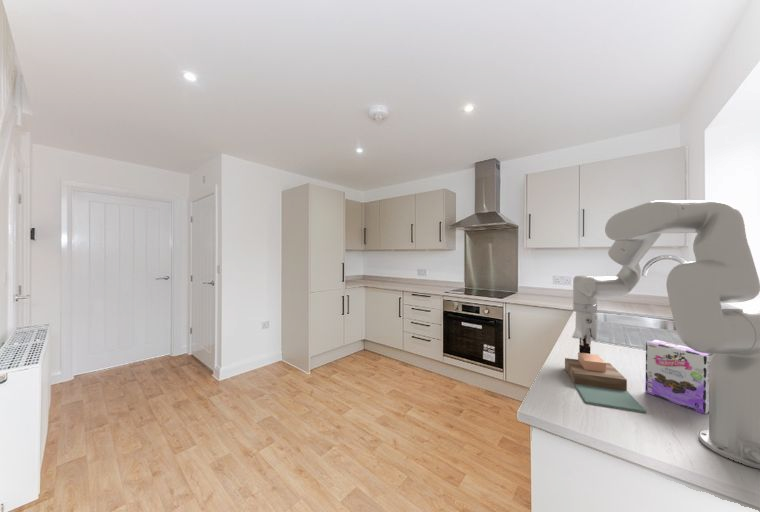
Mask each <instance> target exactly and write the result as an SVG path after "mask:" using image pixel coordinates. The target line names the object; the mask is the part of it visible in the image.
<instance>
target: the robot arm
mask: <svg viewBox="0 0 760 512" xmlns="http://www.w3.org/2000/svg"><path fill="white" fill-rule="evenodd" d="M744 221H745V220H744V218H743V214H742V213H741V212H740V210H739V209H738V208H737V207H735V206H734V205H732V204H730V203H728V202H725V201H720V200H719V201H718V200H717V201H716V200H703V199H702V200H699V199H698V200H695V199H694V200H693V199H692V200H691V199H687V200H686V199H685V200H684V199H683V200H681V199H680V200H654V201H653V200H652V201H649V202H645V203H642V204H639V205H637V206H634V207H631V208H628V209H627V208H626V209H624V210H622V211H620V212H617V213H615V214H613V215H612V216H610V218H609V219H608V220H607V221H606V224H605V227H604V233H605V235H606V237H608V239H610V240H612V241H614V242H613V243H612V245H611V246H610V248H609V249H608V251H607V254H608V257H609V258H610V259H611V260H612V261H614V262H615V263H616V264H617V265H620V266H622V267H621V269H620V270H619V271H618V273H617V274H616V275H615V276H592V275H575V276H574V277H573V279H572V282H573V284H572V285H573V286H572V289H573V290H572V295H573V296H572V300H573V301H572V305H573V306H572V307H573V308H572V310H573V312H575V333H576V335H577V336H578V339H579V341H578V342H579V345H578V346H579V348H578V351H579V352H578V353H588V354H591V344H592V341H591V340H592V339H593V340H594V341H597V339H598V330H597V318H596V314H598V299H607V298H608V299H609V298H611V299H612V298H614V299H617V298H618V299H620V298H623V297H626V296H627V295H629V294H630V293H631V292H632V291H633V290H634V289H635V287H636V286H637V284H638V283H639V282H640V278H641V274H642V273H641V272H642V269H641V265H640V262H641V260H642V259H643V258H644V256H646V254H647V253H648V252H649V250H651V248H652V247H653V245H654V244H655V243H656V241H657V240H658V239H659V238H660V237H661V236H662V234H696V235H695V237H694V240H693V244H692V250H693V254H694V257H695V260H694V261H686V262H685V261H684V262H682V263H679V264H676V265H675V266H673V268H672V269H671V270H670V271H669V273H668V274H667V278H666V290H667V291H666V292H667V296H668V301H669V306H670V310H671V314H672V315H671V316H672V318H673V319H672V320H673V323H674V327H675V330H676V333H677V335H678V338H679V339H680V340H681V342H682V343H683V344H684V346H686V347H689V348H691V349H693V350H695V351H698V352H701V353H707V354H713V356H712V358H711V362H710V368H709V413H708V429H702V430H701V431H700V430H699V433H698V440H700V442H701V443H702V444H703V445H704V446H705V447H706V448H708V449H710V450H711V451H713V452H714V453H716V454H717V455H720V456H722V457H725V458H726V459H728V458H729V460H731V461H733V460H734V462H736V463H738V462H739V463H738V464H741V463H742V464H741V465H745V466H747V467H751V468H755V469H758V470H760V311H758V310H755V309H749V308H748V309H747V308H722V304H732V303H733V304H735V303H745V302H748V301H752V300H754V299H755V298H756V297H757V296H758V295H759V294H760V277H759V275H758V272H757V267H756V265H755V262H754V261H755V260H754V257H753V255H752V251H751V248H750V246H749V242H748V239H747V234H746V233H747V232H746V225H745V222H744Z"/></svg>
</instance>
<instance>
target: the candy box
mask: <svg viewBox="0 0 760 512" xmlns="http://www.w3.org/2000/svg"><path fill="white" fill-rule="evenodd" d="M712 356H713V354H707V353H701V352H698V351H695V350H693V349H691V348H689V347H688V346H686V345H681V344H675V343H671V342H667V341H663V340H659V339H651V340H648V341H646V342H645V393H647V394H650V395H652V396H655V397H657V398H660V399H662V400H666V401H669V402H670V403H673V404H676V405H679V406H680V407H684V408H687V409H690V410H691V411H692V410H693V411H695V412H698V413H701V414H703V415H706V414H709V368H710V362H711V358H712Z"/></svg>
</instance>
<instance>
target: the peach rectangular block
mask: <svg viewBox="0 0 760 512" xmlns="http://www.w3.org/2000/svg"><path fill="white" fill-rule="evenodd" d="M577 360H578V361H579V362H580V364H581V365H582V366H583V368H584V369H587V370H595V371H603V372H606V363H607V362H606V361H604V359H602V357H601V356H599V355H598V354H595V353H590V354H588V353H579V352H578V353H577Z"/></svg>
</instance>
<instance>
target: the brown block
mask: <svg viewBox="0 0 760 512" xmlns="http://www.w3.org/2000/svg"><path fill="white" fill-rule="evenodd" d="M605 363H606V372H603V371H595V370H587V369H584V368H583V366H582V365H581V364H580V362H579V361H578V358H577V359H576V358H568V357H567V358H566V357H565V358H564V369H565V371H566V373H567V372H568V373H567V375H568V376H569V378H570V380H571V381H572V383H573V384H574V385H575V384H581V385H588V386H595V387H602V388H609V389H616V390H623V391H628V387H627V386H628V385H627V384H628V380H627V378H625V376H624V375H623V374H622V373H621V372H619V371H618V370H617V369H616V367H614V366H613V365H612V364H611V363H609V362H605Z"/></svg>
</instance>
